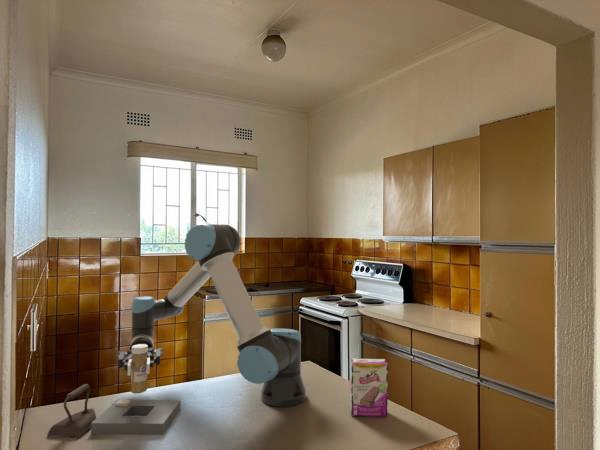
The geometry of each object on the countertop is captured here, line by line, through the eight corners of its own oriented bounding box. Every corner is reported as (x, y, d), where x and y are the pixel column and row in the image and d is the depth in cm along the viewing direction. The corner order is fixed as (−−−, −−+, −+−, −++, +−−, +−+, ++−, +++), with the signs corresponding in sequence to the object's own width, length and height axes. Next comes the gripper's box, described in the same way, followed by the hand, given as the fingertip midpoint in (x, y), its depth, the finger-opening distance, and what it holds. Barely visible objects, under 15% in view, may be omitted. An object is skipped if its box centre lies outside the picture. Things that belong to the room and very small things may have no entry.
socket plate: (180, 409, 127) (180, 397, 127) (163, 434, 111) (163, 420, 111) (117, 409, 127) (117, 397, 127) (90, 434, 111) (91, 420, 111)
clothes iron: (80, 438, 109) (81, 397, 109) (46, 437, 110) (47, 396, 110) (108, 416, 123) (109, 379, 123) (78, 414, 123) (79, 378, 124)
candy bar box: (351, 417, 122) (351, 362, 122) (349, 410, 127) (349, 357, 127) (388, 417, 122) (388, 363, 122) (385, 410, 127) (385, 358, 127)
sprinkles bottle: (140, 395, 116) (141, 348, 117) (127, 393, 118) (128, 346, 118) (150, 389, 121) (151, 344, 121) (137, 387, 122) (138, 342, 122)
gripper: (168, 356, 139) (170, 379, 117) (113, 361, 133) (104, 386, 111) (168, 335, 139) (170, 353, 117) (113, 338, 133) (105, 359, 112)
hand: (138, 369), depth 114 cm, fingers closed on sprinkles bottle, 4 cm apart
